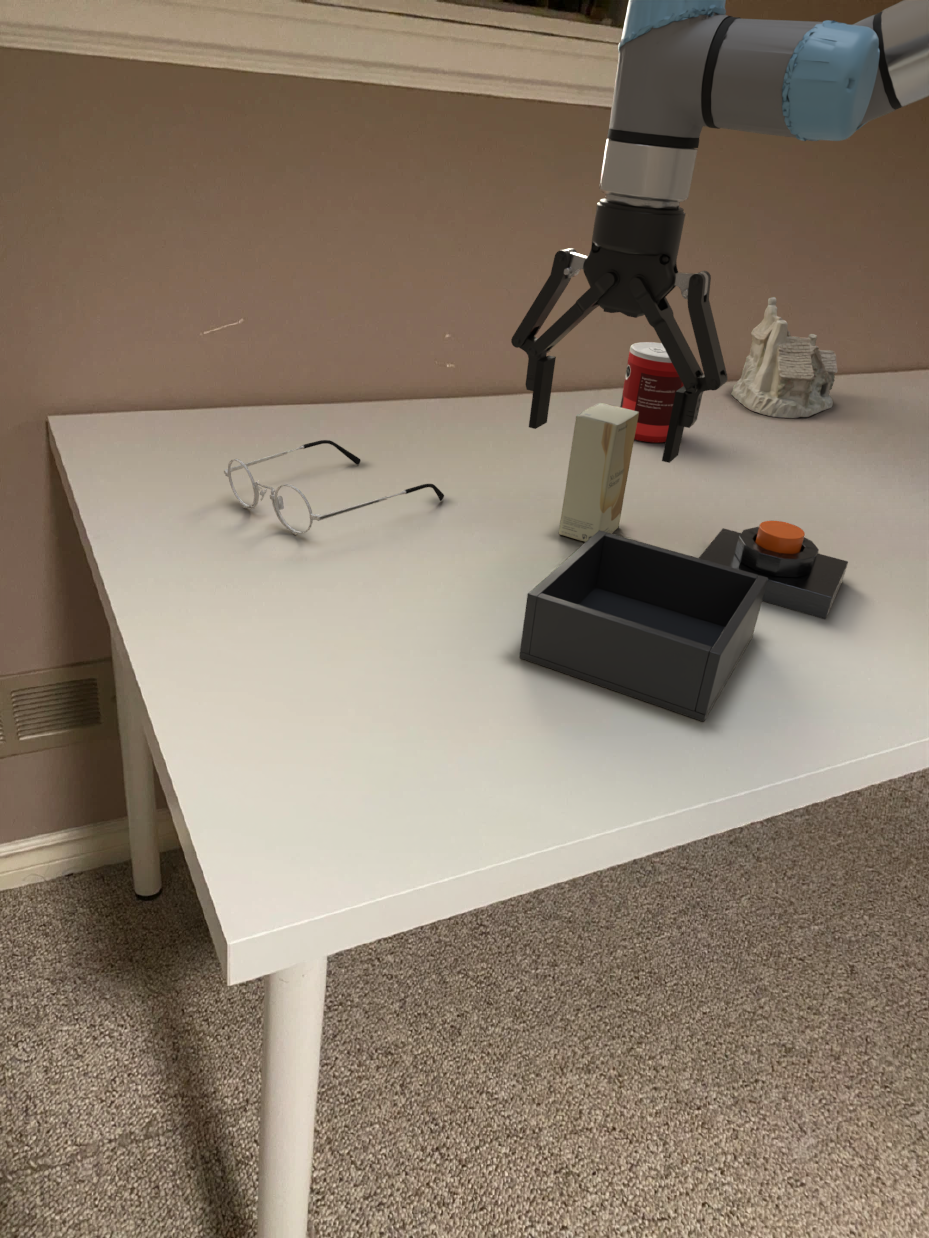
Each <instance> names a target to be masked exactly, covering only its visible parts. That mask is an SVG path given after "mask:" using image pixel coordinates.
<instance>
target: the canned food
mask: <svg viewBox="0 0 929 1238" xmlns="http://www.w3.org/2000/svg"><path fill="white" fill-rule="evenodd" d="M683 386H684V385H683V383H682V381H681V379H680V377H679V375H678V373H677V371H676V370H675V368H674V366H673V364H672V362H671V360H670V358H669V356H668V354H667V352H666V350H665V349H664V347H663V345H662V343H661V342H653V341H641V342H635V343H632V344H631V345H630V348H629V353H628V358H627V363H626V369H625V375H624V381H623V387H622V394H621V399H620V400H621V401H620V406H619V407H621V408H625V409H629V410H633V411H637V412H639V415H638V421H637V426H636V432H635V438H634V441H640V442H645V443H654V444H656V443H659V444H660V443H665V442H666V437H667V432H668V427H669V422H670V418H671V413H672V408H673V403H674V398H675V393H676V391H677V390H679V389H680V388H681V387H683Z"/></svg>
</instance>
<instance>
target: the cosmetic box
mask: <svg viewBox="0 0 929 1238" xmlns="http://www.w3.org/2000/svg"><path fill="white" fill-rule="evenodd" d="M638 415H639V412H637V411H633V410H629V409H625V408H621V407H620V406H616V405H612V404H607V403H602V402H598V403H596V404H594V405H593V406H590V407H588V408H586V409H585V410H583V411H581V412H580V413H578V414H576V415H575V421H574V428H573V434H572V442H571V448H570V455H569V460H568V468H567V475H566V481H565V489H564V495H563V503H562V508H561V516H560V523H559V528H558V535H561V536H565V537H567V538H571V539H575V540H577V541H581V542H584V543H585V542H586V541H588V540H589V539H590V538H591V537H592V536H593V535H594V534H595V533H597V532H598V531H599V530H600V531H604V532H607V533H611V534H614V532H615V531H616V530H618V529H619V527H620V522H621V517H622V510H623V505H624V500H625V499H624V498H625V493H626V487H627V481H628V478H629V477H628V476H629V470H630V465H631V460H632V454H633V448H634V442H635V439H634V438H635V432H636V426H637V421H638Z"/></svg>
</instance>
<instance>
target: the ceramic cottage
mask: <svg viewBox="0 0 929 1238" xmlns="http://www.w3.org/2000/svg"><path fill="white" fill-rule="evenodd" d="M767 299H768V300H767V307H766V308H765V310H764V313H763V319H762V320H761V321H760V323H759V324H757V325H756V326H755V327H753V329H752V331H751V332H750V337H751V339H752V340H751V345H750V351H749V353H748V355H747V356H746V357H745V362H744V364H743V368H742V371H741V376H740V378H739V379H738V380H737V382H736V383H735V384H734V386H733V388H732V391H731V396H732V397H733V398H734V399H735V400H737V401H738V402H739V403H740V404H742V406H744V407H745V408H747V409H748V410H750V411H751V412H755V413H758V414H761V415H764V416H768V417H774V418H786V419H798V418H809V417H811V416H813V415H816V414H818V413H821V412H822V411H827V410H829V409H832V408H833V405H834V404H833V402H834V400H833V398H832V396H831V395H830V391H832V390H833V387H834V383H835V379H836V377H835V376H836V374H837V373H838V362H837V354H836V352H835V351H834V350H831V349H830V350H829V349H826V350H825V349H820V346H819V345H816V344H817V339H818V335H817V334H814V333H810V334H808V335H807V337H800V336H795V335H794V336H791V331H790V330H789V329H788V328H789V327H788V326H789V324H788V322H787V321H786V320H785V319H783V317H782V316H778V307H777V306H776V305H777V298H776V297H775V296H773V297H769V298H767Z"/></svg>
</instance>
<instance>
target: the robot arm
mask: <svg viewBox="0 0 929 1238" xmlns="http://www.w3.org/2000/svg"><path fill="white" fill-rule="evenodd" d="M726 1H727V0H628V3H627V8H626V14H625V19H624V23H623V29H622V34H621V37H620V42H619V43H618V46H617V53H618V56H617V57H618V58H617V65H616V74H615V81H614V89H613V94H612V95H613V96H612V103H611V111H610V119H609V126H608V130H607V137H606V142H605V147H604V154H603V162H602V166H601V167H602V168H601V174H600V181H599V187H598V189H599V190H600V192H602V193H603V194H604V198H600V199H599V202H597V203H596V208H595V215H594V221H593V222H594V224H593V227H592V228H593V229H592V235H591V247H590V250H589V253H588V255H584V254H581V253H578V252H577V250H576V249H575V248H573V247H569V248H564V249H560V250H558V251H557V252H555V254H554V257H553V262H552V266H551V270H550V274H549V276H548V278H547V280H546V281H545V283H544V284H543V286H542V288H541V289H540V291H539V293H538V294H537V296H536V297H535V299H534V301H533V302H532V304H531V305H530V307H529V309H528V310H527V312H526V314H525V316H524V317H523V318H522V320H521V322H520V324H519V325H518V327H517V328H516V330H515V332H514V334H513V335H512V337H511V340H510V342H511V345H512V346H513V347H514V348H519V349H521V350H522V351H523V352H525V353H526V355H527V358H528V359H527V369H526V376H525V388H526V391H530V392H532V397H531V405H530V414H529V420H528V428H531V429H534V430H536V429H538V428H540V427H542V426H543V425H545V424H547V423H548V417H549V409H550V403H551V396H552V389H553V380H554V374H555V373H554V372H555V366H556V358H557V357H556V356H554V355H548V354H549V353H550V352H551V350H552V349H553V348H554V347H555V346H556V345H558V343H560V342H561V341H562V340H563V339H564V338H565V337H566V336H567V335H569V334H570V332H571V331H573V330H574V329H575V328H576V327H577V326H578V325H579V324H580V323H581V322H582V321H584V319H585V318H586V317H588V315H590V314H591V313H592V312H593V311H594V310H596V309H597V308H598V307H600V308H601V309H602V310H603V312H605V313H609V314H615V313H621V314H622V315H625V316H626V317H630V318H635V319H637V318H639V317H643V316H644V317H645V319H646V320H647V322H648V324H649V325H650V326H651V327H652V328H653V330H654V332H655V333H656V335H657V338H658V339H659V341H660V343H662V345H663V347H664V349H665V350H666V352H667V354H668V356H669V358H670V360H671V362H672V364H673V366H674V368H675V370H676V371H677V373H678V375H679V377H680V379H681V381H682V383H683V385H684V386H683V387H681V388H680V389H679V390H677V391H676V393H675V398H674V403H673V408H672V413H671V418H670V422H669V427H668V432H667V437H666V442H664V449H663V452H662V457H661V462H663V463H664V462H665V463H669V464H670V463H671V462H672V461H674V460H675V459H676V458H677V457H678V456H679V454H680V449H681V445H682V439H683V435H684V430H685V428H687V429H690V428H691V427H692V426H694V425H695V423H696V422H697V420H698V417H699V412H700V407H701V404H702V403H701V402H702V398H703V394H704V392H707V391H717V390H719V389H720V388H721V387H723V386H724V385H725V384H726V383H727V382H728V373H727V368H726V364H725V361H724V357H723V352H722V347H721V344H720V340H719V335H718V331H717V328H716V323H715V319H714V315H713V310H712V306H711V302H710V292H711V291H710V290H711V281H712V275H711V274H710V272H709V271H707V270H701V271H698V272H682V271H681V272H680V271H679V270H678V265H677V263H678V262H677V261H678V255H679V251H680V244H681V241H682V234H683V229H684V223H685V218H686V212H685V211H684V208H683V207H682V206H681V205H680V204H681V203H683V202H685V201H686V200H688V199H689V196H690V190H691V186H692V181H693V175H694V170H695V166H696V160H697V157H698V156H697V154H698V151H699V150H698V149H699V145H700V136H701V133H702V130H703V127H707V128H710V129H717V130H718V129H725V130H733V131H740V132H747V133H753V134H758V135H759V134H760V135H768V136H777V137H778V136H779V137H785V138H795V139H797V140H798V141H802V142H806V141H808V142H809V141H810V142H819V141H831V142H841V141H845V140H848V139H849V138H850V137H852V136H853V135H854V134H855V133H856V131H858V130H860V129H861V128H862V127H863V126H864V125H866V124H867V123H868V122H871V121H873V120H876V119H878V118H881V117H883V116H886V115H888V114H891V113H893V112H895V111H896V110H899V109H901V108H903V107H906V106H908V105H911V104H914V103H916V102H918V101H921V100H923V99H926V98H928V97H929V0H901V1H899V2H897V3H895V4H892V5H891V6H889V7H886V8H884V9H883V10H882V11H880V12H877V13H876V14H873V15H869V16H867V17H865V18H863V19H861V20H858V21H857V22H855V23H853V24H848V23H846V22H839V21H837V20H835V19H834V20H833V19H832V20H828V19H826V20H823V21H811V20H810V21H809V20H788V19H787V20H785V19H782V20H781V19H755V18H741V17H737V16H732V15H727V9H726ZM680 206H681V207H680ZM581 270H582V271H583V274H584V276H585V278H586V281H587V283H588V285H589V288H588V289H587V290H586V291H585V292H584V293H583V294H581V296H580V297H578V299H576V301H575V303H573V305H572V306H570V308H569V309H567V310H566V311H565V312H564V313H563V314H562V315H561V316H560V317H559V318H558V319H557V320H556V321H555V322H554V323H552V325H550V327H548V328H547V329H546V330H545V331H544V332H543V333H542V334H541V335H539V337H536V336H537V335H538V333H539V331H540V330H541V328H542V327H543V325H544V323H545V322H546V321H547V318H548V316H549V315H550V314H551V312H552V311H553V310H554V308H555V306H556V304H557V303H558V301H559V300H560V298H561V296H562V295H563V293H564V292H565V290H566V289H567V287H568V285H569V283H570V281H571V280H572V278H574V277H576V276H578V275H579V273H580V271H581ZM676 287H677V288H678V289H679V290H680V293H681V297H682V298H683V299H684V300H687V310H688V315H689V318H690V322H691V327H692V330H693V335H694V339H695V342H696V347H697V351H698V355H699V359H700V363H701V366H700V365H699V363H698V360H697V358H696V356H695V355H694V353H693V351H692V349H691V347H690V345H689V343H688V341H687V340H686V337H685V336H684V334H683V331H682V330H681V328H680V325H679V324H678V322H677V320H676V318H675V316H674V310H673V309H672V306H671V305H670V302H669V300H668V299H667V296H668V295H669V294H670V293H671V292H672V291H673V290H674V289H675V288H676Z"/></svg>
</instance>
